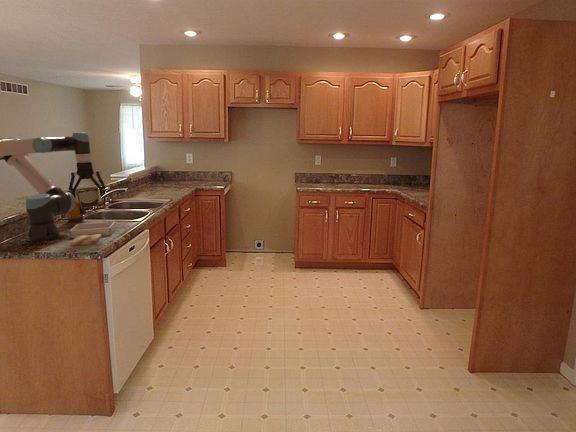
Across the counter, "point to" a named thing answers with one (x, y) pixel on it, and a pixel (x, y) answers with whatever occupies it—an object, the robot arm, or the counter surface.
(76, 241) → the board
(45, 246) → the counter surface
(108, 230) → the bin
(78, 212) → the canister
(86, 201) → the food container
